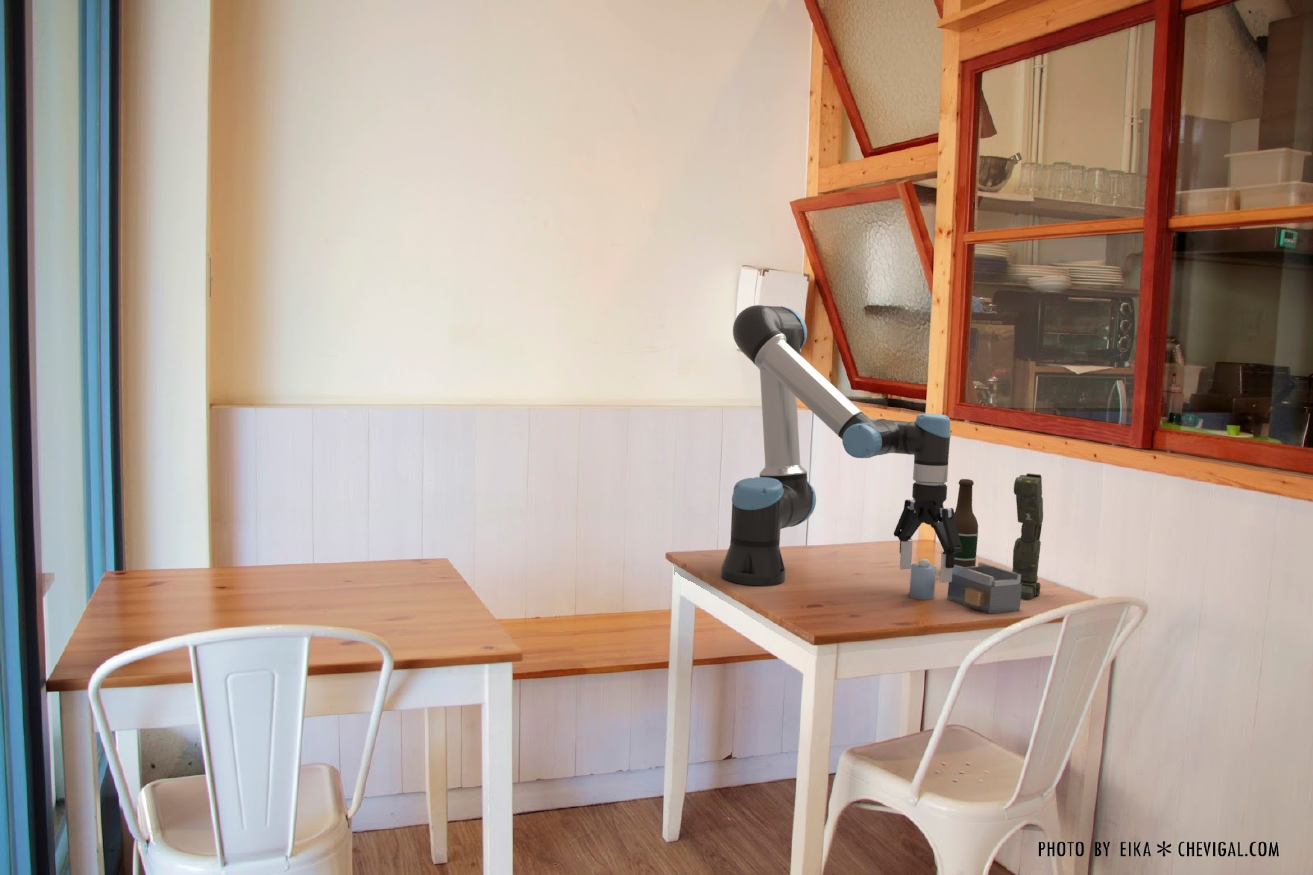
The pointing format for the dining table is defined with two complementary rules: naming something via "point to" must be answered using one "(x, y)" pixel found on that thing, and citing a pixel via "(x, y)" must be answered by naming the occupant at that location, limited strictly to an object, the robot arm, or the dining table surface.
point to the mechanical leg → (1028, 532)
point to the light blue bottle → (922, 580)
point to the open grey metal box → (986, 588)
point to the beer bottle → (966, 525)
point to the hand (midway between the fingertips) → (925, 575)
